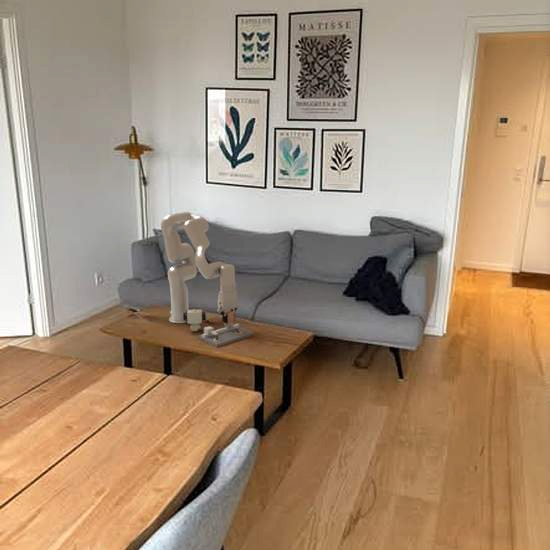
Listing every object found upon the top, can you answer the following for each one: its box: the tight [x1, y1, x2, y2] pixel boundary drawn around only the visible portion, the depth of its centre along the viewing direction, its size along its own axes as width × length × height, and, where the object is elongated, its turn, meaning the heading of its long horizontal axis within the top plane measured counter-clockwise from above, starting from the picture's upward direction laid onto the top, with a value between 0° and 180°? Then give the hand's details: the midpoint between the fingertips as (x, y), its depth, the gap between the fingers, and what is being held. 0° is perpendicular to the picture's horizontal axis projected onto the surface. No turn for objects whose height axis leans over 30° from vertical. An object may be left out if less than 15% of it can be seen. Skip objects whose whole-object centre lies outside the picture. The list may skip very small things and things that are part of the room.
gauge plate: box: [197, 323, 255, 348], centre depth 280 cm, size 16×24×6 cm, turn 133°
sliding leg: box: [223, 310, 238, 333], centre depth 283 cm, size 9×4×10 cm, turn 43°
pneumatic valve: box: [183, 308, 207, 332], centre depth 289 cm, size 6×12×12 cm, turn 94°
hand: (228, 321), depth 286 cm, fingers closed on sliding leg, 4 cm apart
